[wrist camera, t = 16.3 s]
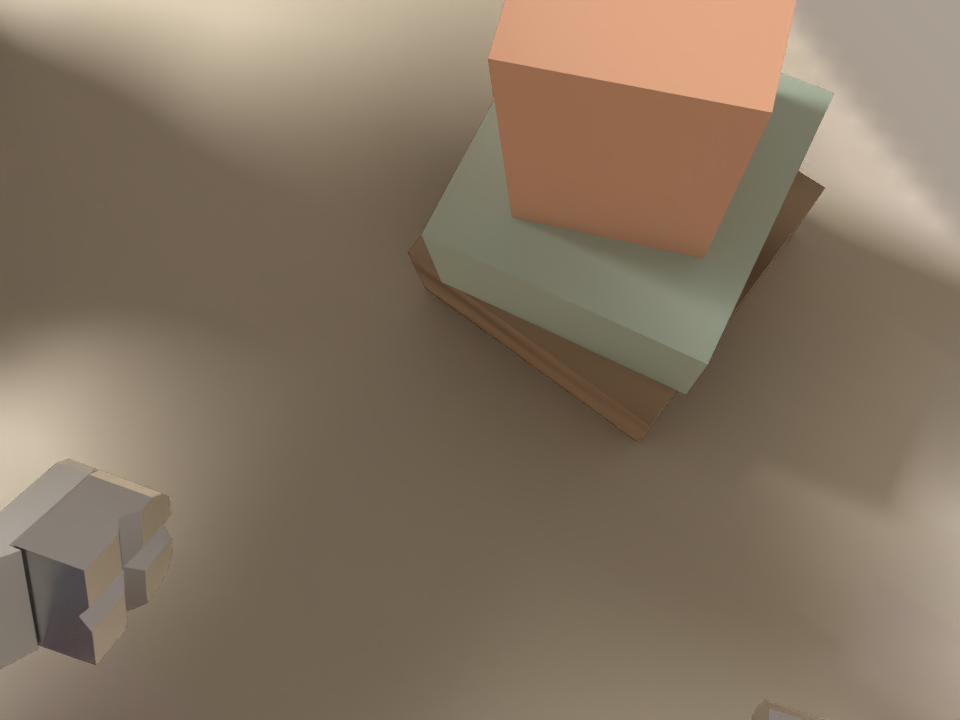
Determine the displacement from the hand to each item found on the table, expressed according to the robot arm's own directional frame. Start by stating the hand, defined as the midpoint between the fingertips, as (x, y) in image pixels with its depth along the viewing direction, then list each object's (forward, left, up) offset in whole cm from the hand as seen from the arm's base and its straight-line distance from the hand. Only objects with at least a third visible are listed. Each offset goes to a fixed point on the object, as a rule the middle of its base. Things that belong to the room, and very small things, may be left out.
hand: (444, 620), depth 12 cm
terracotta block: (+11, +4, -10) cm, 15 cm away
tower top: (+11, +4, -14) cm, 18 cm away
